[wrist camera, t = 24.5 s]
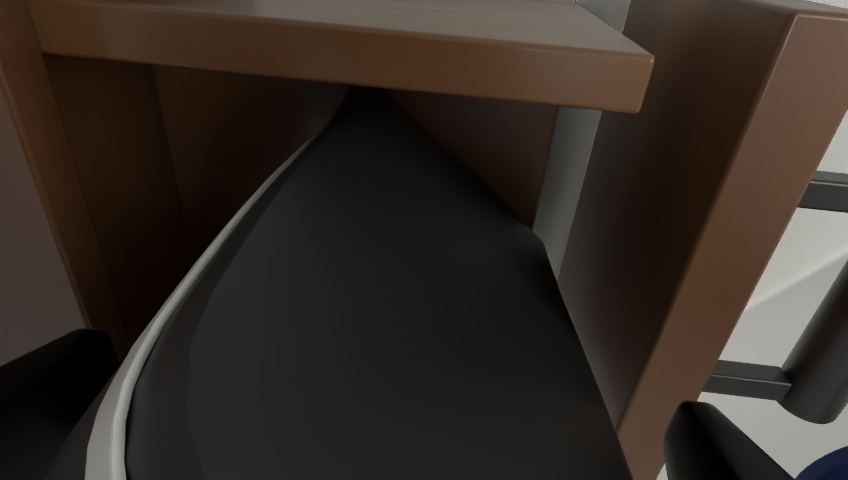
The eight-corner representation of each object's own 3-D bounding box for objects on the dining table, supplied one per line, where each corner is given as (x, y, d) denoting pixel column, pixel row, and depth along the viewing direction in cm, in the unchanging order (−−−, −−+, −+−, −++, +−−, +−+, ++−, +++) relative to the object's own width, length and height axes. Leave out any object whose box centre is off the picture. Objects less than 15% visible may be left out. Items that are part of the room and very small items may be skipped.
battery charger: (271, 171, 14) (-208, 731, 4) (363, 64, 12) (6, 484, 2) (455, 320, 16) (476, 937, 6) (551, 243, 14) (802, 876, 4)
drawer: (907, -4, 12) (1339, 60, 6) (718, 361, 18) (838, 572, 12) (121, -77, 12) (-199, -85, 6) (195, 299, 18) (63, 471, 12)
